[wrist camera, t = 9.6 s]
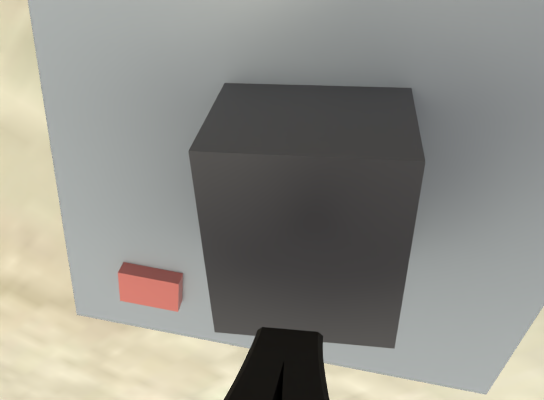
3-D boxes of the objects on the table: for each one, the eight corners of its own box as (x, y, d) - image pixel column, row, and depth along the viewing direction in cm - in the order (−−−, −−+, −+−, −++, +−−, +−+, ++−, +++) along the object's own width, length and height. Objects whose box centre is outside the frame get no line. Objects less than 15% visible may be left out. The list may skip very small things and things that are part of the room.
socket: (725, -91, 13) (809, -71, 11) (475, 347, 24) (489, 407, 22) (48, -196, 14) (-19, -200, 12) (99, 275, 25) (70, 325, 22)
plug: (406, 64, 16) (425, 161, 11) (386, 225, 20) (394, 348, 15) (236, 60, 17) (188, 151, 12) (248, 217, 20) (214, 332, 16)
